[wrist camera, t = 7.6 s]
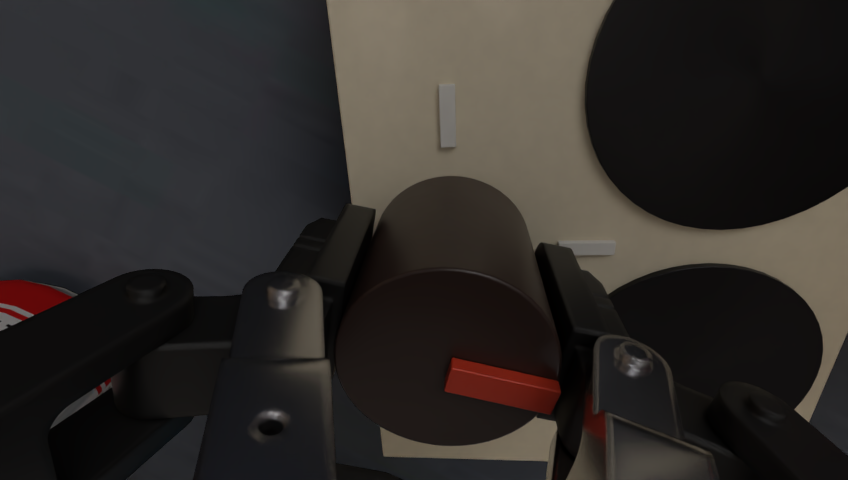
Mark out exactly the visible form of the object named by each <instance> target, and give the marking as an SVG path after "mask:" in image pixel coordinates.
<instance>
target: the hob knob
mask: <svg viewBox="0 0 848 480" xmlns="http://www.w3.org/2000/svg"><path fill="white" fill-rule="evenodd" d="M334 363H335V367H336V371H337V375H338V378H339V381H340V383H341V385H342V388H343V389H344V391H345V393H346V394H347V396H348V398H349V399H350V400H351V401H352V403H353V404H354V405H355V406H356V407H357V408H358V409H359V410H360V411H361V412H362V413H363V414H364V415H365V416H366V417H367V418H369V419H370V420H371V421H373V422H374V423H375V424H377V425H379V426H380V427H382V428H384V429H385V430H387V431H389V432H391V433H393V434H395V435H398V436H401V437H403V438H406V439H409V440H412V441H416V442H420V443H425V444H431V445H439V446H466V445H475V444H480V443H484V442H489V441H492V440H495V439H498V438H501V437H503V436H506V435H508V434H510V433H512V432H514V431H516V430H518V429H519V428H521V427H523V426H524V425H526V424H527V423H528V422H530V421H531V420H532V419H533V418H534V417H536V416H537V415H538V414H539V413H544V414H548V415H551V413H552V411H553V409H554V407H555V405H556V403H557V401H558V399H559V397H560V395H561V389H560V385H559V382H558V381H559V378H560V373H561V368H562V352H561V346H560V341H559V337H558V334H557V330H556V327H555V323H554V320H553V316H552V313H551V309H550V306H549V302H548V299H547V295H546V292H545V288H544V285H543V281H542V278H541V274H540V271H539V267H538V264H537V260H536V257H535V253H534V250H533V246H532V243H531V239H530V236H529V232H528V229H527V226H526V223H525V220H524V218H523V216H522V214H521V213H520V211H519V210H518V208H517V207H516V205H515V204H514V203H513V202H512V201H511V200H510V199H509V198H508V197H507V196H506V195H504V194H503V193H502V192H501V191H499V190H498V189H496V188H494V187H493V186H491V185H489V184H486V183H484V182H482V181H479V180H476V179H472V178H467V177H461V176H442V177H435V178H431V179H427V180H424V181H421V182H418V183H416V184H414V185H412V186H410V187H408V188H407V189H405V190H404V191H402V192H401V193H400V194H399V195H397V196H396V197H395V198H394V199H393V200H392V201H391V202H390V204H389V205H388V206H387V207H386V209H385V210H384V212H383V214H382V215H381V218H380V220H379V222H378V225H377V227H376V230H375V232H374V235H373V238H372V240H371V243H370V245H369V248H368V251H367V253H366V256H365V259H364V261H363V264H362V266H361V269H360V272H359V274H358V277H357V279H356V282H355V285H354V287H353V290H352V292H351V295H350V298H349V300H348V303H347V306H346V308H345V311H344V313H343V316H342V319H341V321H340V324H339V326H338V329H337V333H336V337H335V341H334Z"/></svg>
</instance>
